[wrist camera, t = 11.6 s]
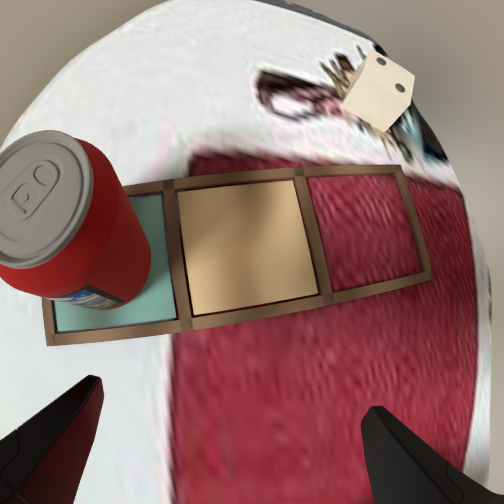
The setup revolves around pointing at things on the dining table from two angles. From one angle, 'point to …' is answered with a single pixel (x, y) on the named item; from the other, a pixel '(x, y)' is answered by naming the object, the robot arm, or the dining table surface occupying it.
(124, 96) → the dining table surface
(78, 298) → the beverage can
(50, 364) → the dining table surface
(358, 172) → the brown frame
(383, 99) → the die
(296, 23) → the dining table surface
